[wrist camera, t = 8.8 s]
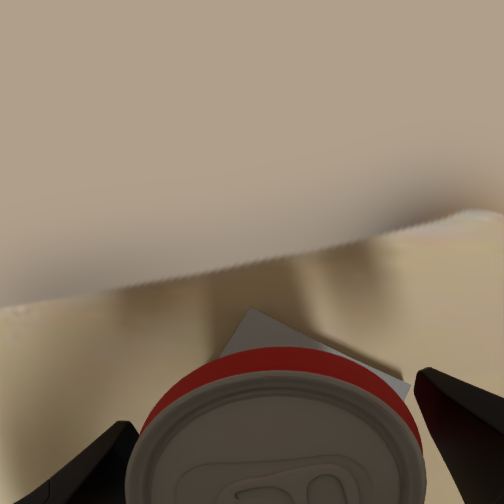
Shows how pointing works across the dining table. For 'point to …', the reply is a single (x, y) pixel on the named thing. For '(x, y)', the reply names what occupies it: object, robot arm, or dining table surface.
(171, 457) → the beverage can
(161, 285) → the dining table surface
